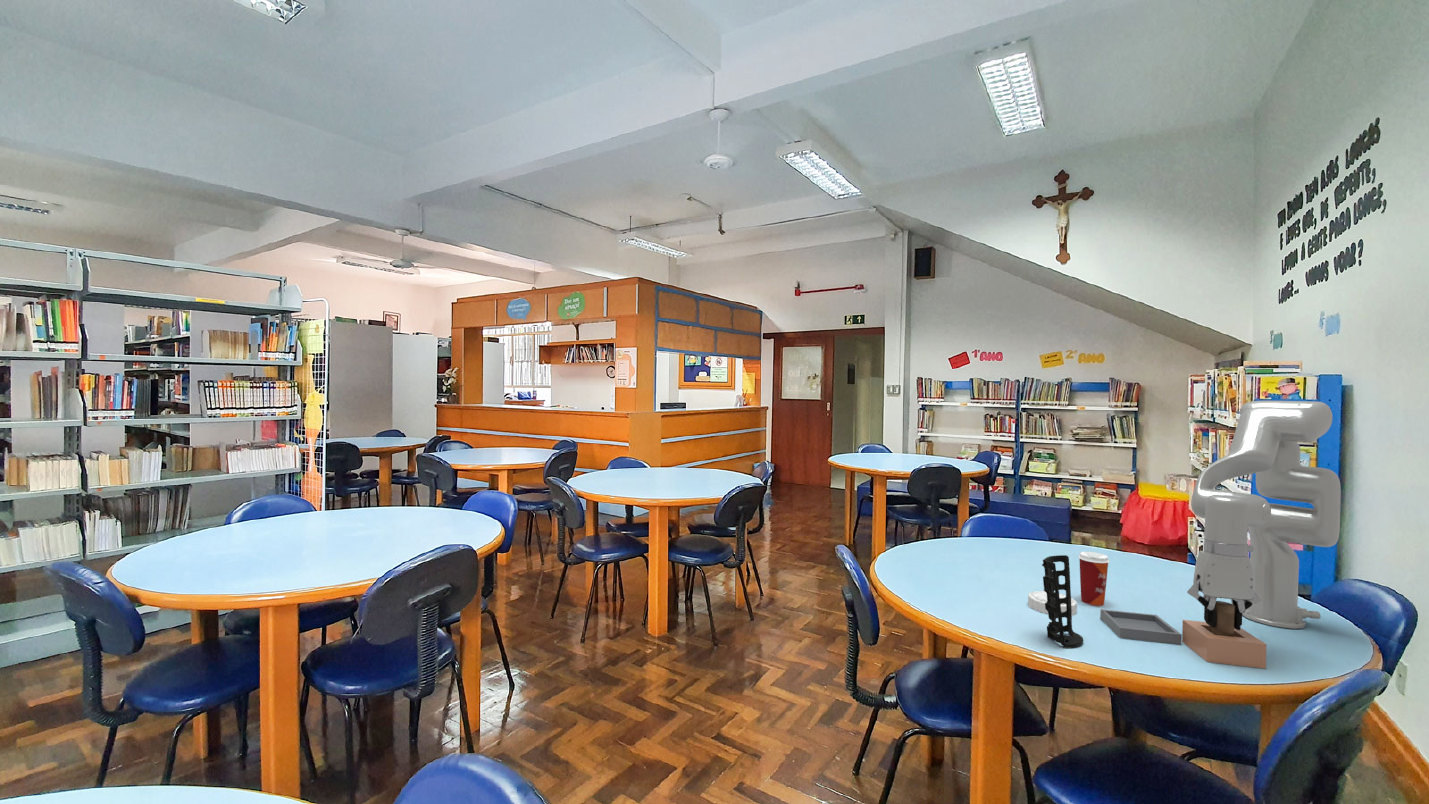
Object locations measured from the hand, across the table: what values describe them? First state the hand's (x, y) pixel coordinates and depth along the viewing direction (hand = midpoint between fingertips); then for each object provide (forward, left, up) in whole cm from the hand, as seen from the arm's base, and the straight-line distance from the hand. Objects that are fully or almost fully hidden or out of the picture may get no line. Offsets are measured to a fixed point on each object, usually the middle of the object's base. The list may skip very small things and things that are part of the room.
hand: (1222, 625), depth 135 cm
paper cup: (+17, -30, -7) cm, 35 cm away
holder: (+34, +2, -7) cm, 35 cm away
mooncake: (+30, -21, -7) cm, 37 cm away
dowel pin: (0, 0, -7) cm, 7 cm away
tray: (+13, -10, -7) cm, 18 cm away
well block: (0, 0, -7) cm, 7 cm away
